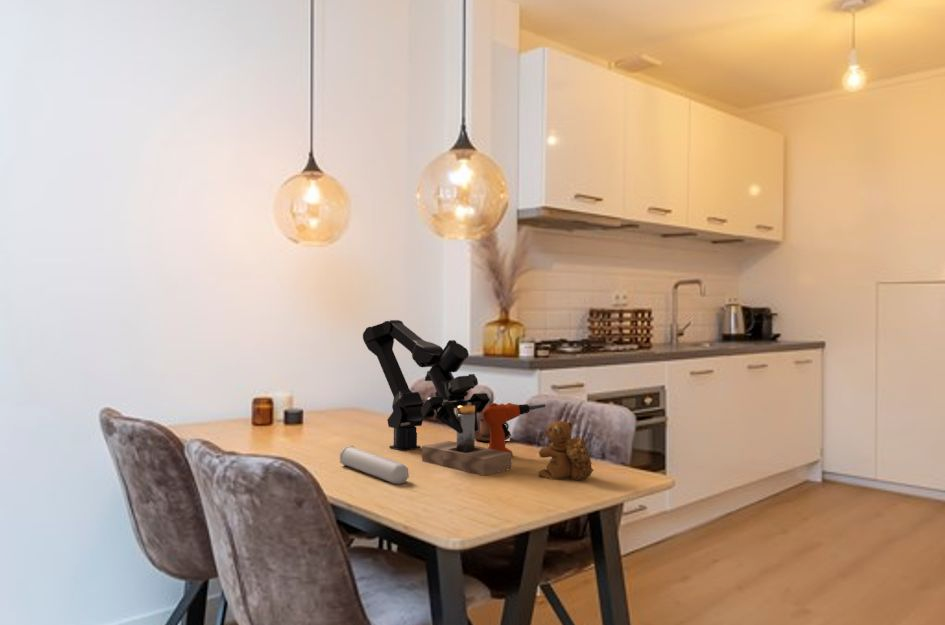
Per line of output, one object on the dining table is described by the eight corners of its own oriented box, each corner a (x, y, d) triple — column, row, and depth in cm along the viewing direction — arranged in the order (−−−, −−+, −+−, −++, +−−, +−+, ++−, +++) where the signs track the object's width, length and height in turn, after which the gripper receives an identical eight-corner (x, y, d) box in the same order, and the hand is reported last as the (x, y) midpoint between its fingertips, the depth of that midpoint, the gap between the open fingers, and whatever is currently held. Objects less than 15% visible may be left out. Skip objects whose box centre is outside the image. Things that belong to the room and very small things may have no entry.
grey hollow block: (422, 461, 179) (422, 445, 179) (449, 455, 187) (449, 440, 187) (484, 475, 164) (484, 458, 164) (511, 469, 171) (511, 453, 171)
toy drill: (553, 450, 188) (547, 396, 188) (488, 462, 183) (481, 406, 183) (546, 446, 193) (541, 393, 192) (482, 458, 188) (476, 404, 187)
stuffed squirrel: (558, 469, 172) (559, 416, 172) (604, 479, 162) (605, 423, 162) (531, 475, 166) (532, 420, 166) (578, 486, 155) (578, 428, 155)
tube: (416, 466, 157) (360, 447, 176) (397, 461, 154) (343, 443, 173) (409, 489, 156) (354, 468, 175) (390, 485, 153) (336, 464, 172)
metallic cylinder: (454, 457, 174) (455, 406, 174) (459, 453, 178) (459, 403, 178) (472, 458, 173) (472, 407, 173) (476, 455, 177) (477, 404, 177)
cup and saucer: (488, 435, 219) (488, 416, 219) (518, 440, 211) (519, 420, 211) (463, 440, 210) (463, 420, 210) (494, 445, 202) (494, 424, 202)
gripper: (427, 365, 173) (451, 414, 164) (486, 362, 184) (512, 409, 175) (410, 393, 179) (433, 442, 170) (468, 389, 190) (492, 435, 182)
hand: (468, 431), depth 174 cm, fingers closed on metallic cylinder, 5 cm apart
